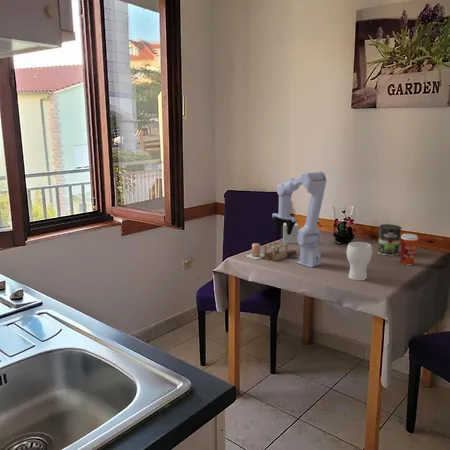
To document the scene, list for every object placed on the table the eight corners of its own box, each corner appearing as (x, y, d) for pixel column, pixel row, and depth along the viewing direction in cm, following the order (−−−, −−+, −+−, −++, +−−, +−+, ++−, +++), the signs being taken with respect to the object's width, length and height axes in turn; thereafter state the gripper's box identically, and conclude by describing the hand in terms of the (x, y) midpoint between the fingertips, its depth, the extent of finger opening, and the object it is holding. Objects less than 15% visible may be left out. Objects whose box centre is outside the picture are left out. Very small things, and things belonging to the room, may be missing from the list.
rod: (296, 255, 233) (296, 250, 232) (267, 260, 224) (267, 256, 224) (293, 254, 235) (293, 249, 234) (264, 259, 226) (264, 255, 226)
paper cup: (405, 267, 213) (407, 238, 210) (394, 262, 221) (397, 234, 217) (419, 265, 215) (422, 236, 212) (408, 260, 223) (411, 232, 219)
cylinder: (261, 256, 229) (261, 244, 228) (255, 257, 227) (255, 245, 225) (255, 254, 232) (256, 242, 231) (250, 255, 230) (250, 244, 228)
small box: (297, 241, 257) (297, 222, 255) (297, 243, 252) (298, 225, 250) (282, 240, 258) (283, 222, 256) (283, 243, 253) (283, 225, 250)
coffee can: (399, 256, 229) (402, 229, 225) (378, 255, 231) (380, 228, 228) (397, 250, 238) (399, 224, 235) (376, 249, 241) (378, 223, 237)
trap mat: (298, 257, 228) (298, 256, 228) (293, 258, 226) (293, 258, 226) (292, 255, 231) (292, 254, 231) (287, 257, 229) (287, 256, 229)
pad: (267, 256, 229) (267, 256, 229) (255, 260, 224) (255, 259, 224) (255, 253, 235) (255, 252, 235) (244, 256, 230) (244, 255, 230)
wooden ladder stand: (287, 257, 229) (287, 244, 227) (273, 261, 222) (273, 248, 221) (277, 254, 233) (278, 241, 232) (264, 258, 227) (264, 245, 225)
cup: (365, 273, 205) (367, 241, 202) (373, 281, 195) (376, 248, 191) (342, 273, 205) (344, 241, 201) (349, 282, 195) (351, 248, 191)
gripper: (300, 208, 230) (299, 234, 233) (279, 204, 241) (278, 229, 244) (291, 210, 226) (290, 236, 229) (269, 205, 236) (269, 231, 239)
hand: (283, 232), depth 236 cm, fingers open, 7 cm apart
